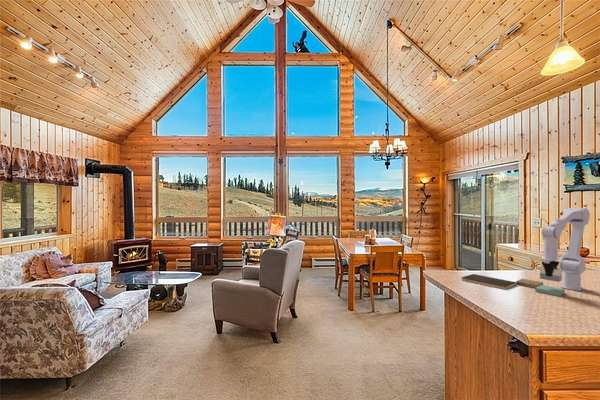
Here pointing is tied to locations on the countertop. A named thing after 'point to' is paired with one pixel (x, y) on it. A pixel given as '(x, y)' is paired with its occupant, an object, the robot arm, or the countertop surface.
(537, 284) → the stand
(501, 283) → the hardcover book
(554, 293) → the stand
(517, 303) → the countertop surface
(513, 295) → the countertop surface
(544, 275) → the block
